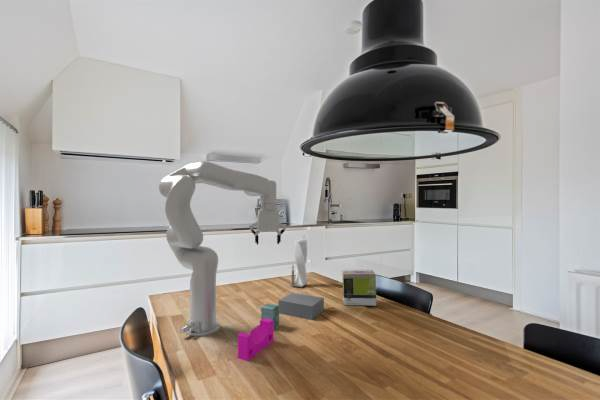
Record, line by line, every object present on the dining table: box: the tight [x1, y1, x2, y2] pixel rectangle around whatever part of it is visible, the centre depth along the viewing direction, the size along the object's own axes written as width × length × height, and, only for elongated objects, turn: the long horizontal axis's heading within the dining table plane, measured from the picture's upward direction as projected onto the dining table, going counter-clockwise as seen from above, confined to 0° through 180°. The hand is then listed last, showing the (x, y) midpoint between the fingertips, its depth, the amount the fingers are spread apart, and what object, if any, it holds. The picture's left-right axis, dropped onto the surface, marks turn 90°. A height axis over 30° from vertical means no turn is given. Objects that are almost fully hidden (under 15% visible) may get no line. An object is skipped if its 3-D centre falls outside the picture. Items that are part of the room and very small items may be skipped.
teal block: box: [260, 302, 280, 330], centre depth 120 cm, size 5×5×8 cm
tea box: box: [341, 269, 377, 307], centre depth 147 cm, size 15×10×15 cm, turn 84°
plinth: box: [278, 292, 325, 321], centre depth 135 cm, size 12×16×6 cm
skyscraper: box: [290, 235, 308, 288], centre depth 178 cm, size 8×8×28 cm
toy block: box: [237, 318, 275, 362], centre depth 103 cm, size 15×6×8 cm, turn 153°
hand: (267, 243), depth 143 cm, fingers open, 9 cm apart
